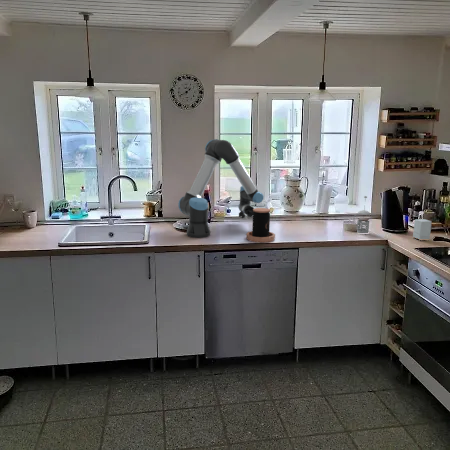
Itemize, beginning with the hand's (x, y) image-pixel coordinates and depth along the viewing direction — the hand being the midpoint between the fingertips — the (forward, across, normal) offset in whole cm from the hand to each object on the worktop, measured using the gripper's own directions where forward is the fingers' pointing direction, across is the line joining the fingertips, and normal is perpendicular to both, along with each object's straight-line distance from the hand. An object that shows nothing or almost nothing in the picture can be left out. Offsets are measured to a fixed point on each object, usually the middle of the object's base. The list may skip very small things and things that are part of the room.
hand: (257, 217), depth 279 cm
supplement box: (+26, -101, -12) cm, 105 cm away
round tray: (+9, 0, -12) cm, 15 cm away
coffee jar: (+9, 0, -11) cm, 15 cm away
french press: (+4, -72, -12) cm, 73 cm away
